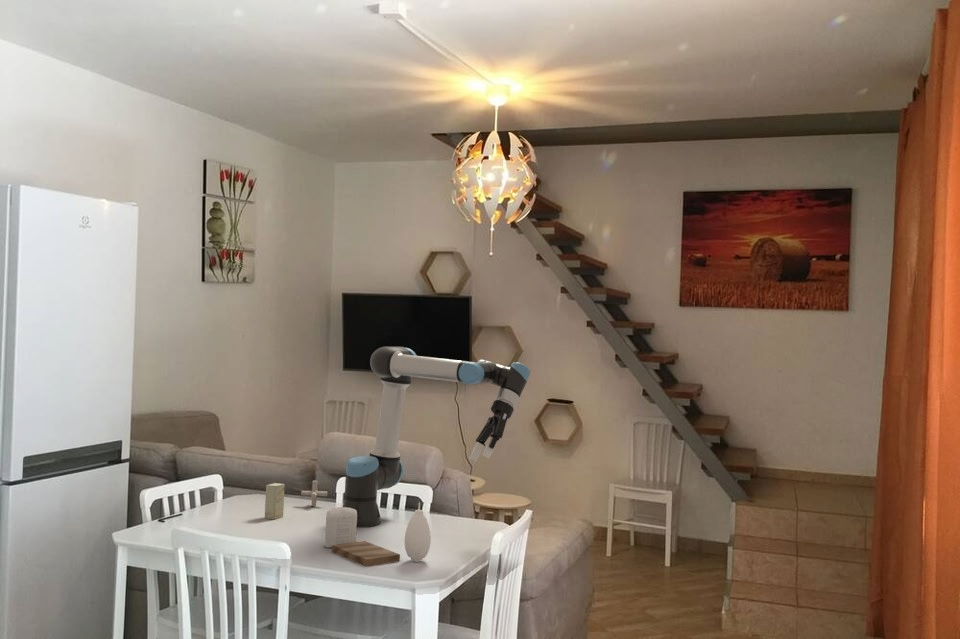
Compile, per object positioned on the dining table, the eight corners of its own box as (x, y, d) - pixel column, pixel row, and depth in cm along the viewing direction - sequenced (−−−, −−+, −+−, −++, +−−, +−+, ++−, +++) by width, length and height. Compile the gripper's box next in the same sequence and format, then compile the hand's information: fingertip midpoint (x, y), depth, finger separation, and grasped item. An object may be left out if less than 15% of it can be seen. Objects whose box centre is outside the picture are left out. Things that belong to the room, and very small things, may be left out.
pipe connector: (302, 503, 339) (303, 478, 340) (327, 504, 340) (328, 479, 341) (299, 508, 329) (300, 482, 330) (325, 509, 330) (326, 483, 331)
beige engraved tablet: (352, 543, 277) (354, 505, 277) (357, 546, 273) (359, 507, 274) (322, 545, 272) (324, 507, 272) (326, 548, 268) (328, 509, 269)
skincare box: (274, 519, 307) (276, 486, 308) (263, 518, 309) (265, 484, 309) (283, 516, 313) (285, 483, 314) (273, 515, 315) (275, 482, 315)
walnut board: (331, 551, 265) (331, 545, 265) (364, 547, 273) (364, 540, 273) (366, 566, 250) (366, 559, 250) (399, 561, 257) (400, 554, 257)
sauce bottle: (409, 556, 263) (412, 498, 264) (433, 559, 261) (435, 500, 261) (399, 562, 256) (402, 502, 256) (424, 565, 253) (427, 505, 254)
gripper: (527, 404, 284) (501, 460, 276) (501, 414, 307) (476, 466, 299) (508, 393, 283) (481, 449, 275) (483, 404, 306) (458, 456, 298)
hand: (479, 458), depth 287 cm, fingers open, 13 cm apart
